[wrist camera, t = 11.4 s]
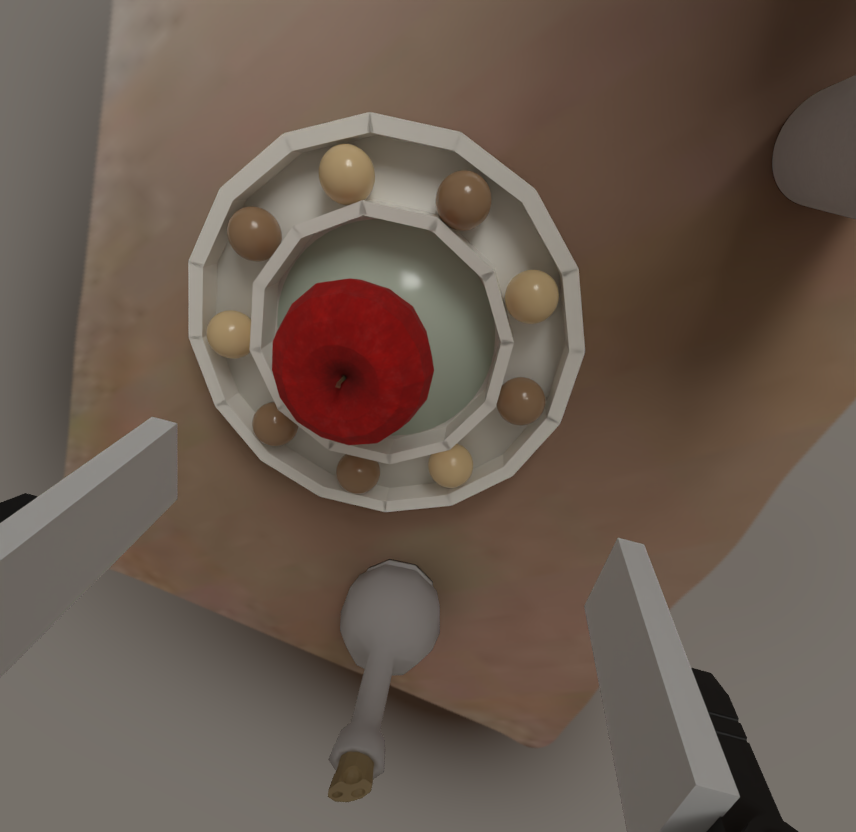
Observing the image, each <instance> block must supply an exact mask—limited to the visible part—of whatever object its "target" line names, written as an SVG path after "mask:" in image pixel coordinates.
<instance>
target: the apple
mask: <svg viewBox="0 0 856 832" xmlns="http://www.w3.org/2000/svg"><path fill="white" fill-rule="evenodd" d="M272 372H273V375H274V379H275V383H276V386H277V390H278V393H279V397H280V398H281V400H282V401H283V403H284V404H285V406H286V407H287V409H288V410H289V411H290V413H291V414H292V416H293V417H294V419H295V420H296V421H297V422H298V423H300V424H301V425H303V426H304V427H306V428H307V429H309V430H311V431H312V432H314V433H315V434H317V435H318V436H320V437H322V438H325V439H329V440H332V441H335V442H339V443H342V444H346V445H361V444H375V443H378V442H380V441H382V440H383V439H385V438H386V437H388V436H389V435H391V434H392V433H394V432H396V431H397V430H399V429H400V428H402V427H403V426H404V425H405V424H407V423H408V422H409V421H410V420H411V419H412V417H413V416H414V415H415V414H416V412H417V411H418V410H419V409H420V408H421V406H422V405H423V404H424V403H425V401H426V400H427V398H428V394H429V390H430V386H431V382H432V377H433V373H434V366H433V358H432V354H431V349H430V345H429V340H428V336H427V331H426V329H425V328H424V326H423V324H422V322H421V320H420V318H419V317H418V315H417V313H416V311H415V309H414V307H413V306H412V305H410V304H409V303H408V302H406V301H405V300H404V299H402V298H401V297H400V296H398V295H397V294H396V293H394V292H393V291H392V290H390V289H389V288H386V287H382V286H379V285H376V284H373V283H370V282H367V281H364V280H360V279H352V278H349V279H342V280H335V281H328V282H321V283H316V284H315V285H313V286H312V287H311V288H310V289H309V290H308V291H306V292H305V293H304V294H303V295H302V296H300V297H299V298H298V299H297V300H296V301H295V302H293V303H292V304H291V306H290V308H289V310H288V312H287V314H286V315H285V317H284V319H283V321H282V323H281V325H280V326H279V328H278V330H277V332H276V335H275V337H274V340H273V348H272Z"/></svg>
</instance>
